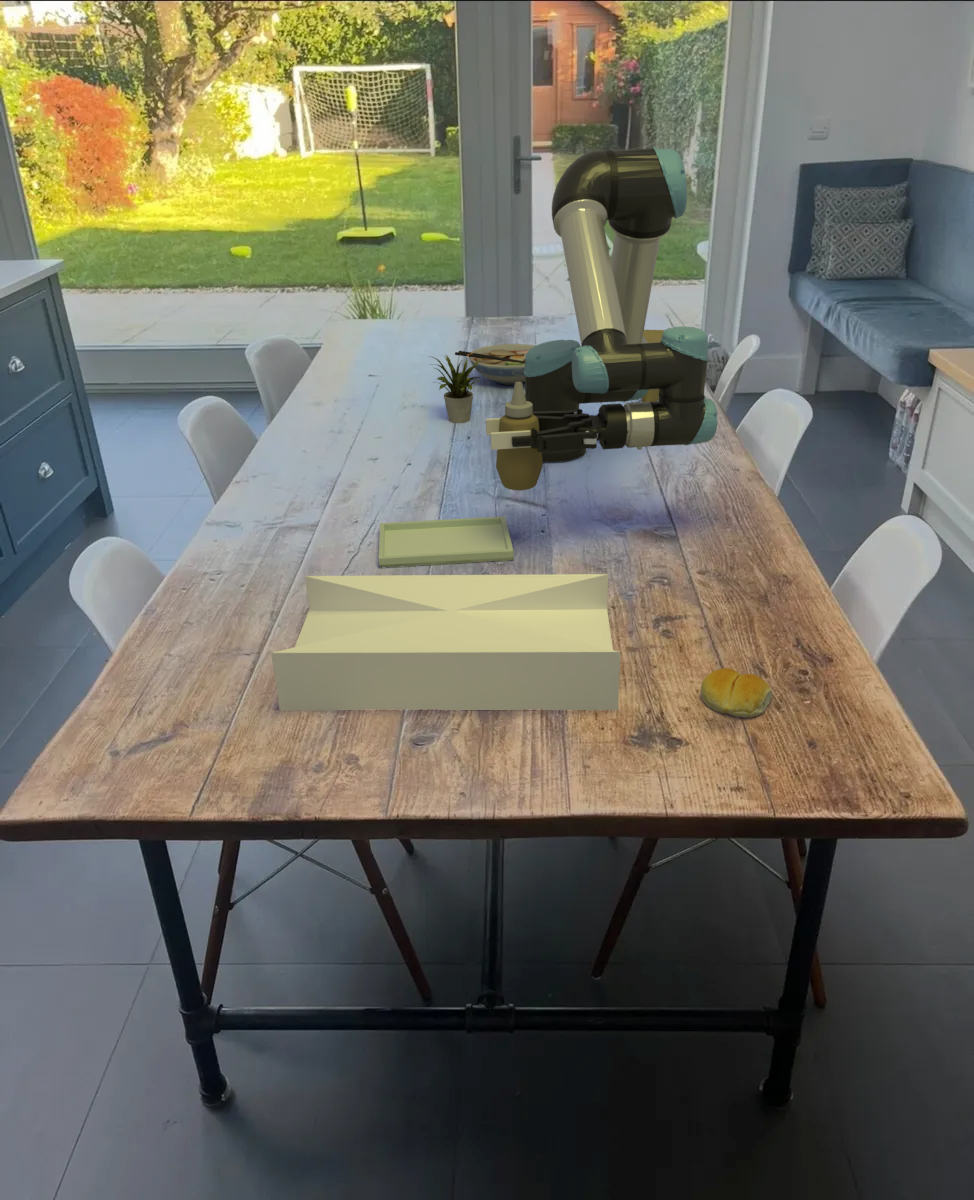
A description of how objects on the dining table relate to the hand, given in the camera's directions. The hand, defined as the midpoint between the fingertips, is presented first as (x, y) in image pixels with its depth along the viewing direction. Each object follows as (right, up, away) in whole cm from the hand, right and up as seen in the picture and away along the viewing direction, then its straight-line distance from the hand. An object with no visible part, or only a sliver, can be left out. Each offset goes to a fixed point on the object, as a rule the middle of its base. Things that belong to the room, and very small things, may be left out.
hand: (488, 434), depth 167 cm
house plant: (-8, +15, +73) cm, 75 cm away
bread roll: (+33, -42, -34) cm, 63 cm away
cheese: (+41, +23, +85) cm, 97 cm away
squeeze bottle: (+5, -8, +5) cm, 11 cm away
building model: (-5, -38, -25) cm, 45 cm away
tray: (-8, -18, +11) cm, 22 cm away
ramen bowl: (+6, +31, +101) cm, 106 cm away
